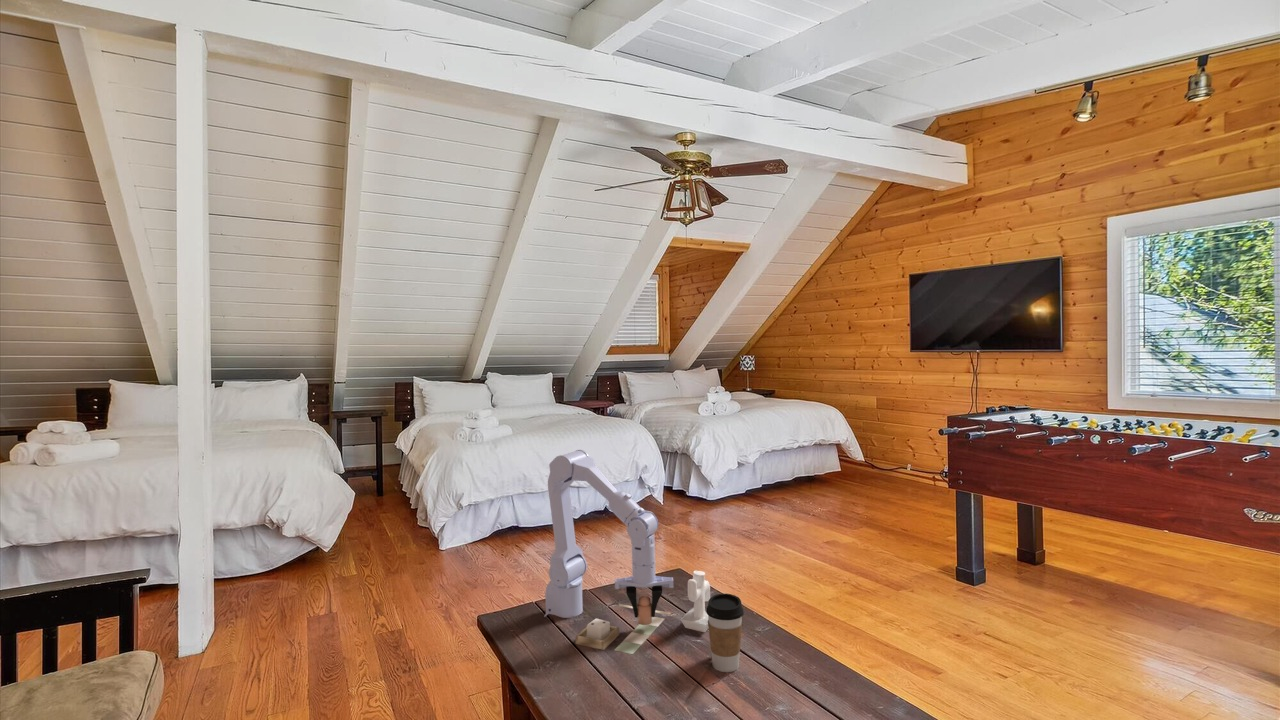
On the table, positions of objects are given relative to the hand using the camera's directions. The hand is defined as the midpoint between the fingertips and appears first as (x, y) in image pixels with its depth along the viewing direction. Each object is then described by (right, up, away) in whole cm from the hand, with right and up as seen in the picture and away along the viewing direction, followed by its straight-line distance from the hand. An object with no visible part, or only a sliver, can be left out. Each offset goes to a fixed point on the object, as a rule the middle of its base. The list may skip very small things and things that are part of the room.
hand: (644, 615), depth 163 cm
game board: (-5, -5, +1) cm, 7 cm away
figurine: (+14, -5, +2) cm, 15 cm away
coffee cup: (+18, -5, -16) cm, 25 cm away
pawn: (0, -1, 0) cm, 1 cm away
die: (-11, -4, -4) cm, 13 cm away
